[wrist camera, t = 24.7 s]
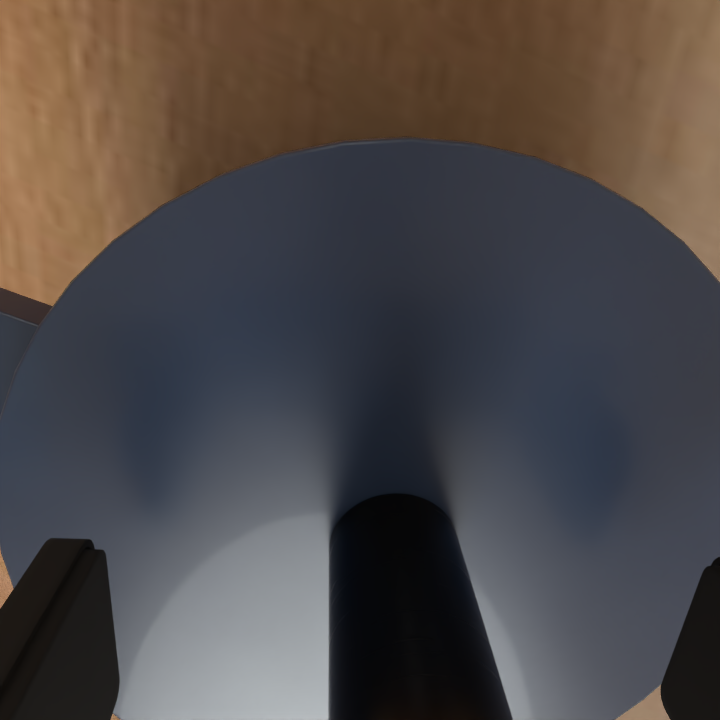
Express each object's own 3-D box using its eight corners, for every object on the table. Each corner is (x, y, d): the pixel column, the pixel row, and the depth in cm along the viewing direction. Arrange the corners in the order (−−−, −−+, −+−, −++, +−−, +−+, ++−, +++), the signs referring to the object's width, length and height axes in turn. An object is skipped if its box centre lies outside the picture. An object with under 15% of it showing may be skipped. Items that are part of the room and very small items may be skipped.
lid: (521, 795, 16) (623, 1155, 10) (-38, 661, 13) (-300, 1051, 8) (890, 327, 11) (1435, 533, 6) (135, -34, 8) (-231, -312, 3)
